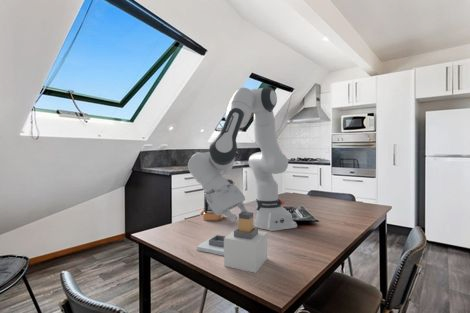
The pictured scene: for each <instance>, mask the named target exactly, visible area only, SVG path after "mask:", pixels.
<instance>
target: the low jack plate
mask: <svg viewBox="0 0 470 313" xmlns="http://www.w3.org/2000/svg"><path fill="white" fill-rule="evenodd" d="M226 236H227V235H226ZM226 236H225V235H219V234H216V235H212V236H211V237H209V238H208V239H206V240H205V241H203V242H202V243H200V244H198V245H197V246H196V251H198V252H199V251H200V252H205V253H208V254H209V253H210V254H214V255H220V256H223V257H224V238H225V237H226Z"/></svg>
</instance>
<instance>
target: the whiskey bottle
mask: <svg viewBox="0 0 470 313" xmlns="http://www.w3.org/2000/svg"><path fill="white" fill-rule="evenodd" d="M203 191H204V190H203ZM203 200H204V201H203V203H204V205H203V206H204V207H203V211H204V212H203V215H202V216H203V217H202V219H203V221H215V222H220V221H222V220H223V219H224V216H225V215H224V214H223V213H222V214H220V215H216V214H215V213H214V212H213V211H212V209H211V208H210V206H209V205H208V203H207V199H206V198H205V191H204V199H203Z"/></svg>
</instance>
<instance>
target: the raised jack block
mask: <svg viewBox="0 0 470 313" xmlns="http://www.w3.org/2000/svg"><path fill="white" fill-rule="evenodd" d="M267 259H268V231H260V230H259V228H257V227H253V231H252V232H251V233H246V232H240V231H239V227H238V228H236V229H235V230H233V231H232V232H230V233H229V234H228V235H226V237H225V238H224V256H223V266H224V267H227V268H233V269H236V270H240V271H244V272H245V271H246V272H250V273H255V274H256V273H257V272H258V271H259V270H260V269H261V268H262V266H263V265H264V263H265V262H266V261H267Z"/></svg>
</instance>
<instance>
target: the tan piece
mask: <svg viewBox="0 0 470 313" xmlns="http://www.w3.org/2000/svg"><path fill="white" fill-rule="evenodd" d="M238 228H239V231H240V232H246V233H251V232H252V231H253V228H254V212H251V211H250V212H249V211H248V212H240V213H238Z"/></svg>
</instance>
